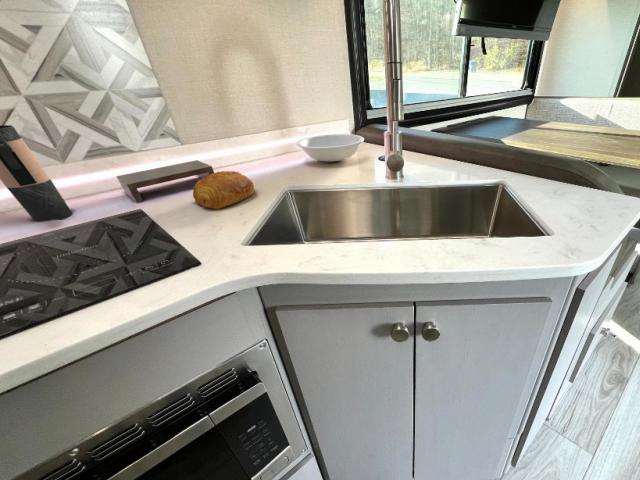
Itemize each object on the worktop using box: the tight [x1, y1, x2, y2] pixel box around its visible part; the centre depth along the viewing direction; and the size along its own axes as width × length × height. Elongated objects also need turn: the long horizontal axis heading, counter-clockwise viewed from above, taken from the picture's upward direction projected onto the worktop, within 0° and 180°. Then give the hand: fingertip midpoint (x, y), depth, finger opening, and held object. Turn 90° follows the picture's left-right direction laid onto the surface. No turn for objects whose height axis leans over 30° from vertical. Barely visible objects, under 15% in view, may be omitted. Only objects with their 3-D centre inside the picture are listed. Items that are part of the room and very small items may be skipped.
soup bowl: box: [296, 133, 365, 162], centre depth 115 cm, size 24×24×7 cm
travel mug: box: [0, 124, 73, 222], centre depth 73 cm, size 8×8×20 cm
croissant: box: [192, 170, 255, 210], centre depth 84 cm, size 14×16×8 cm
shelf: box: [116, 159, 215, 204], centre depth 94 cm, size 22×12×5 cm, turn 137°
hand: (26, 179), depth 73 cm, fingers open, 13 cm apart
